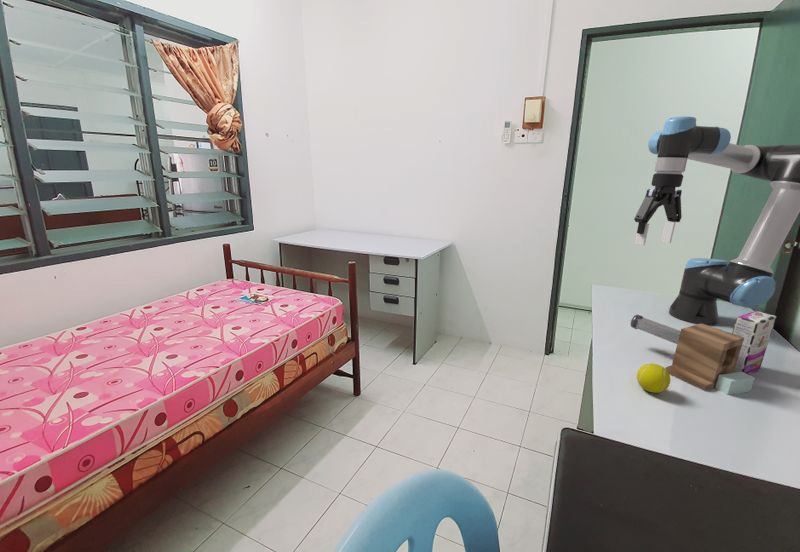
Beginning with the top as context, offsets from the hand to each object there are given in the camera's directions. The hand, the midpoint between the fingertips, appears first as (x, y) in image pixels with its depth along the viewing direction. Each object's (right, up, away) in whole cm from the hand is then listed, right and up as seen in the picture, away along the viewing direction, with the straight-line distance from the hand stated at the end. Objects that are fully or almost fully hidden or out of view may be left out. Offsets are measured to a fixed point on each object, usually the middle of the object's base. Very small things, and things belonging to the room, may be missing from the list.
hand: (652, 243), depth 120 cm
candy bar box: (+18, -37, -11) cm, 42 cm away
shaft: (-1, -29, -8) cm, 30 cm away
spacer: (+6, -37, -21) cm, 43 cm away
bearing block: (+3, -37, -15) cm, 40 cm away
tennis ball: (-16, -39, -23) cm, 48 cm away
